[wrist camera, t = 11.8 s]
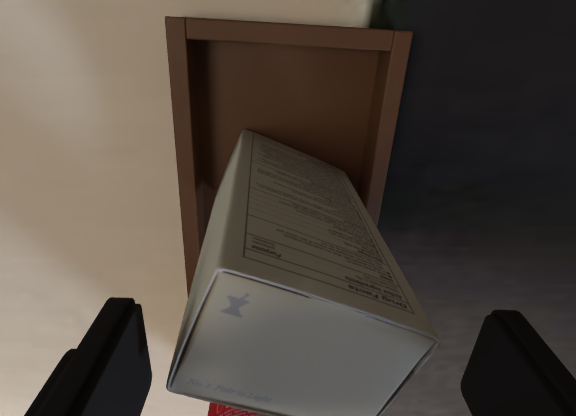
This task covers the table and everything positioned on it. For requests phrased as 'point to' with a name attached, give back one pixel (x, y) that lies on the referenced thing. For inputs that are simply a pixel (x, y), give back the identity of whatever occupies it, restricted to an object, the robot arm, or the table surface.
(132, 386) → the robot arm
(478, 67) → the table surface
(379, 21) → the table surface
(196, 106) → the tray
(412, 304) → the cosmetic box
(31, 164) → the table surface
